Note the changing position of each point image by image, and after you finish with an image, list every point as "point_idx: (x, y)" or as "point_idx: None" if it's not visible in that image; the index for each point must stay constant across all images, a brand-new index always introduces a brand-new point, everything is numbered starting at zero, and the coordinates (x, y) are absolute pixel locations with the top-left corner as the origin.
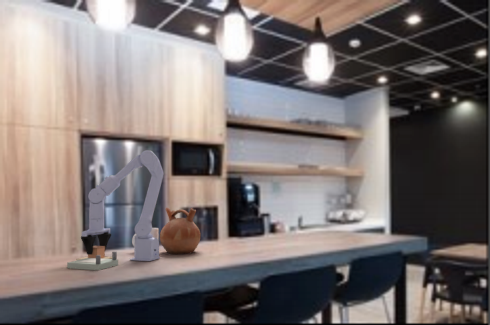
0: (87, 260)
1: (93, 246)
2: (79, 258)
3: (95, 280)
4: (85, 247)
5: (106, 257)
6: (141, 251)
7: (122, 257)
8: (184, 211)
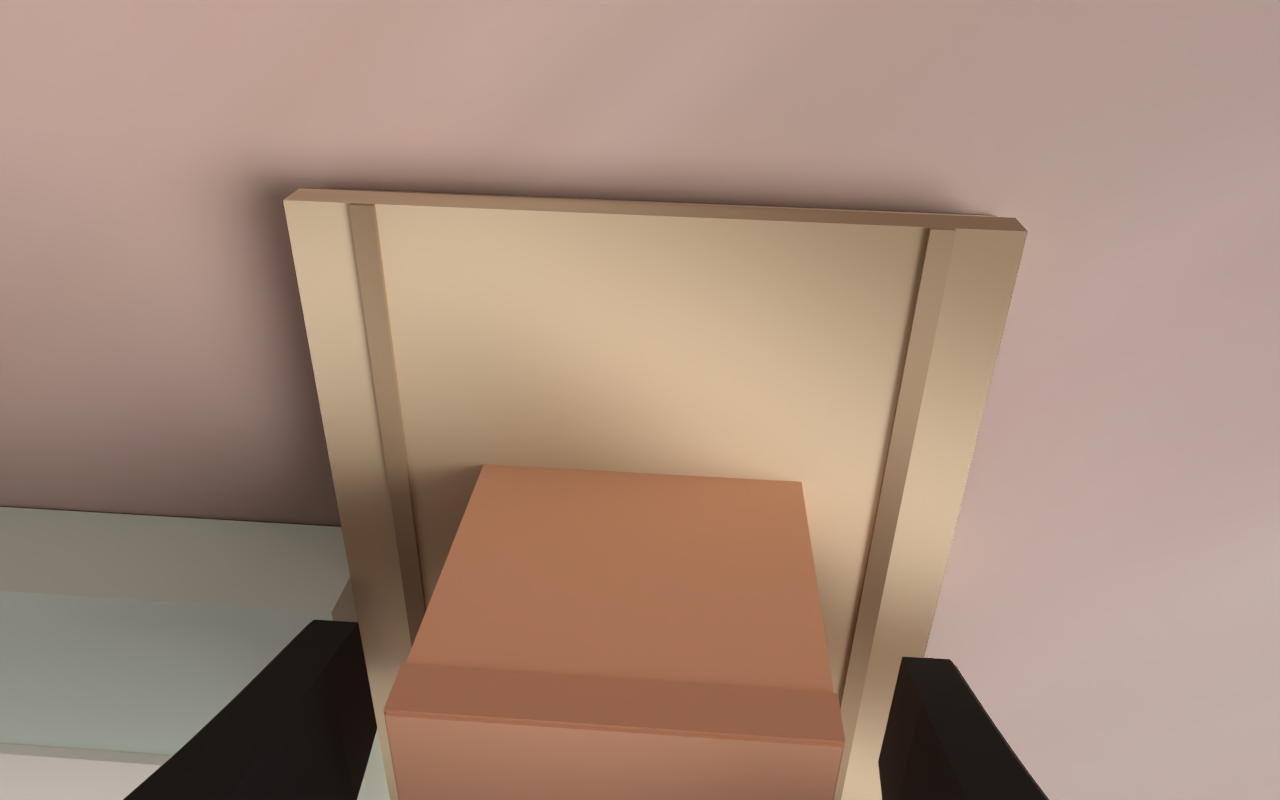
0: None
1: (613, 782)
2: (413, 219)
3: None
4: (158, 777)
5: None
6: None
7: (1220, 768)
8: None
